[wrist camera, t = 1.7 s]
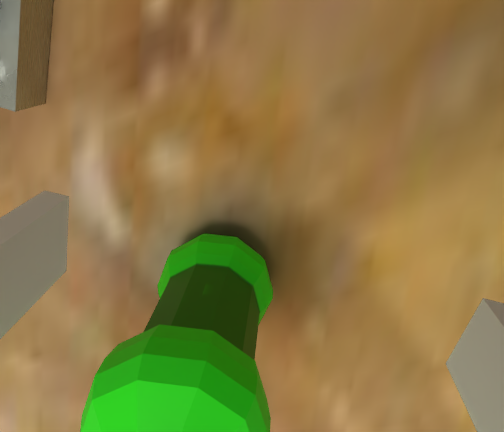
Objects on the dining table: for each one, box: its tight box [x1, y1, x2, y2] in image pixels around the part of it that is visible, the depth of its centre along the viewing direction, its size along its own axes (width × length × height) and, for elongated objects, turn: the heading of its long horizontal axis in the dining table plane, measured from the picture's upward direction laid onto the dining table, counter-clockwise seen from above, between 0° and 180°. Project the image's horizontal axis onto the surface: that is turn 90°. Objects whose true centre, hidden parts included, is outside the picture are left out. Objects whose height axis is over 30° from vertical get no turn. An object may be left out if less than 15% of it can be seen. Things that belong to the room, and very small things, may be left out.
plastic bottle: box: [80, 234, 273, 432], centre depth 27 cm, size 10×10×25 cm
